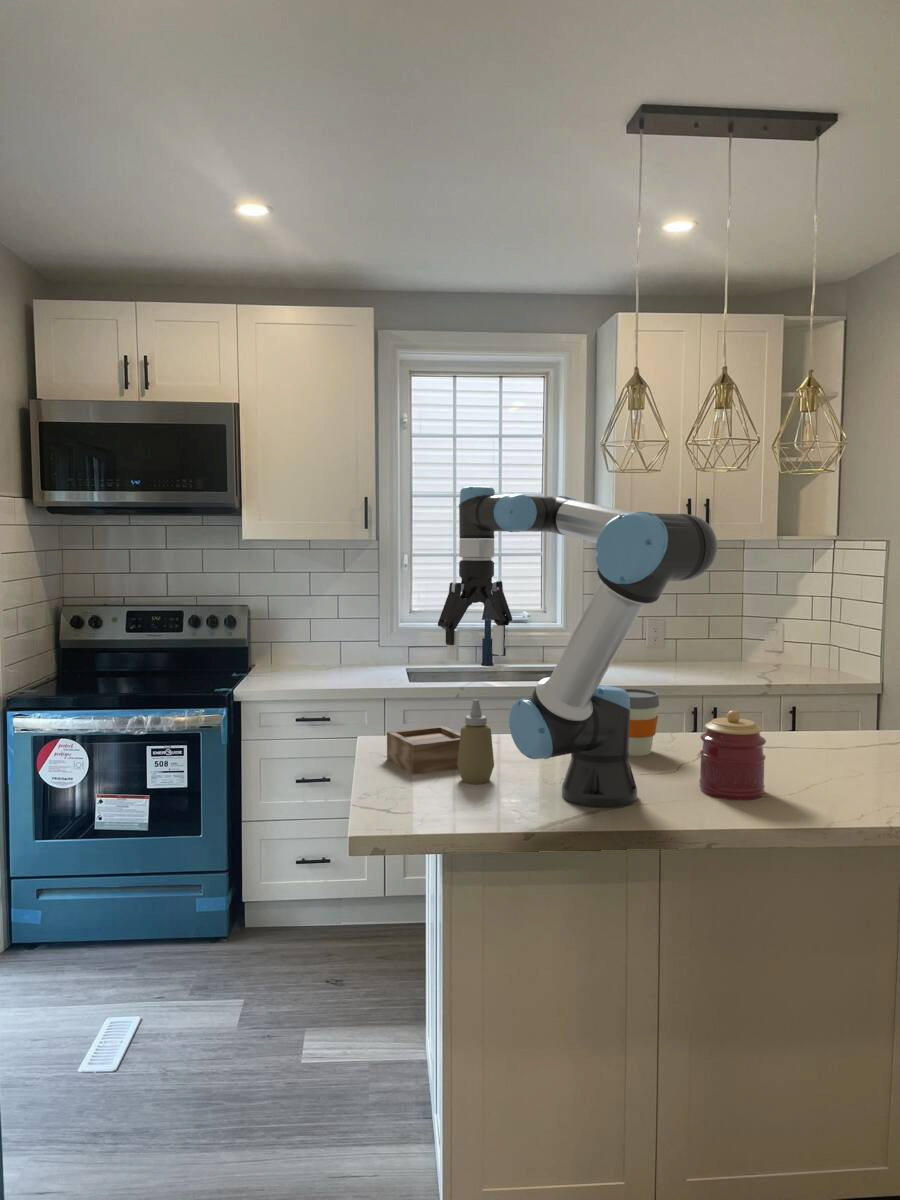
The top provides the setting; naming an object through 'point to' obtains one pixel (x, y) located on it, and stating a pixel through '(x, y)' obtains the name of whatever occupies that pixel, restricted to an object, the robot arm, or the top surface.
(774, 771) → the top surface
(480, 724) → the squeeze bottle
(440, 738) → the walnut tray
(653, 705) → the reusable coffee cup
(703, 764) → the canister
